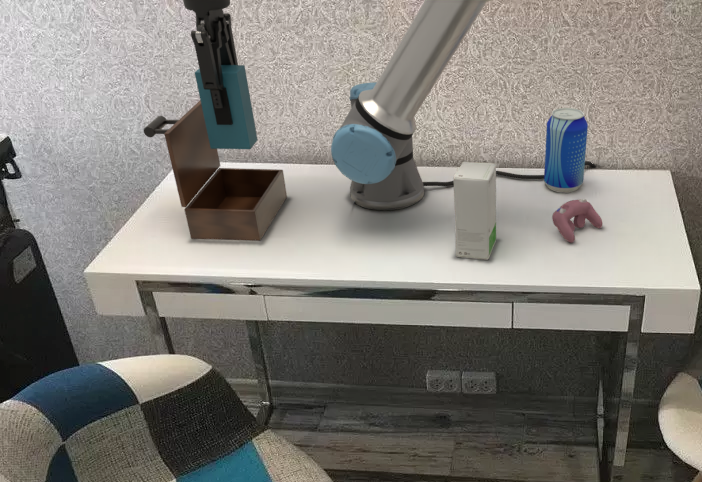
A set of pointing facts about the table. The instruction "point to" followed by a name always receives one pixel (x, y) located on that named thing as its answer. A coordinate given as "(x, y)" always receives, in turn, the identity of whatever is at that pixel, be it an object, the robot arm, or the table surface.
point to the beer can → (565, 150)
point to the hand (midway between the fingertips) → (229, 118)
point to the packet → (240, 107)
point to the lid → (188, 151)
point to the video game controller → (575, 217)
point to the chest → (236, 204)
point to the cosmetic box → (475, 209)
